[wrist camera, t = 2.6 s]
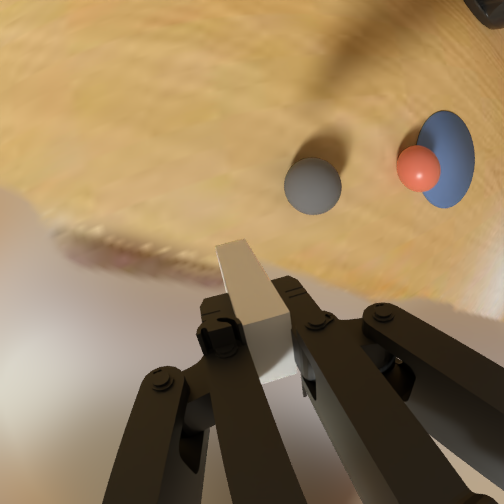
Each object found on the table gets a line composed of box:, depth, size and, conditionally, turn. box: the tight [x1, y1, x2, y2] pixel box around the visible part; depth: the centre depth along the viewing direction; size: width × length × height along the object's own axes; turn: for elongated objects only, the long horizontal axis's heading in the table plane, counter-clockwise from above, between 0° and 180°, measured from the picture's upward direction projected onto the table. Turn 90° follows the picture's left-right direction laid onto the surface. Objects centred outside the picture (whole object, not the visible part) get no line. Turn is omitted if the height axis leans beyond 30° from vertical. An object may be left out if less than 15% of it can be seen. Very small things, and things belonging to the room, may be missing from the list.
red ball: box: [397, 145, 441, 192], centre depth 29 cm, size 6×6×6 cm
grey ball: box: [284, 158, 342, 215], centre depth 27 cm, size 6×6×6 cm
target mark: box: [417, 111, 475, 208], centre depth 33 cm, size 14×14×1 cm
